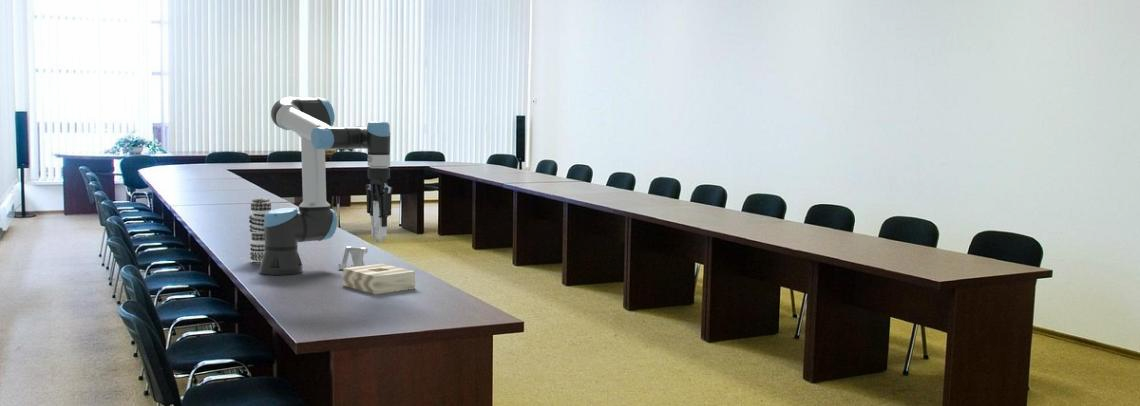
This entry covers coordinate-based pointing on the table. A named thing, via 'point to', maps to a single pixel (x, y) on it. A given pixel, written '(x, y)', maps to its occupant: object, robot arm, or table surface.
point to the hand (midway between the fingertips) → (379, 235)
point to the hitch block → (378, 278)
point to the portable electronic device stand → (353, 257)
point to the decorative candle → (258, 227)
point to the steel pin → (376, 223)
